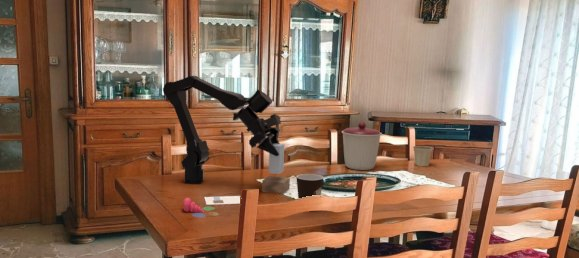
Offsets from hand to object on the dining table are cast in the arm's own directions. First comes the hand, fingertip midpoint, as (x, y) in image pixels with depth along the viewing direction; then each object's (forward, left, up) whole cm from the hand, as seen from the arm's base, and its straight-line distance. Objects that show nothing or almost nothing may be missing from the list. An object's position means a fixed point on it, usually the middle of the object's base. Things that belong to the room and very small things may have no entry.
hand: (280, 154), depth 177 cm
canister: (+39, +43, -14) cm, 60 cm away
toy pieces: (-25, -27, -14) cm, 39 cm away
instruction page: (-19, -14, -13) cm, 27 cm away
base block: (-1, +1, -13) cm, 14 cm away
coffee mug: (+10, -20, -14) cm, 26 cm away
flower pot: (+71, +52, -14) cm, 89 cm away
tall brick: (-1, +1, -7) cm, 7 cm away
